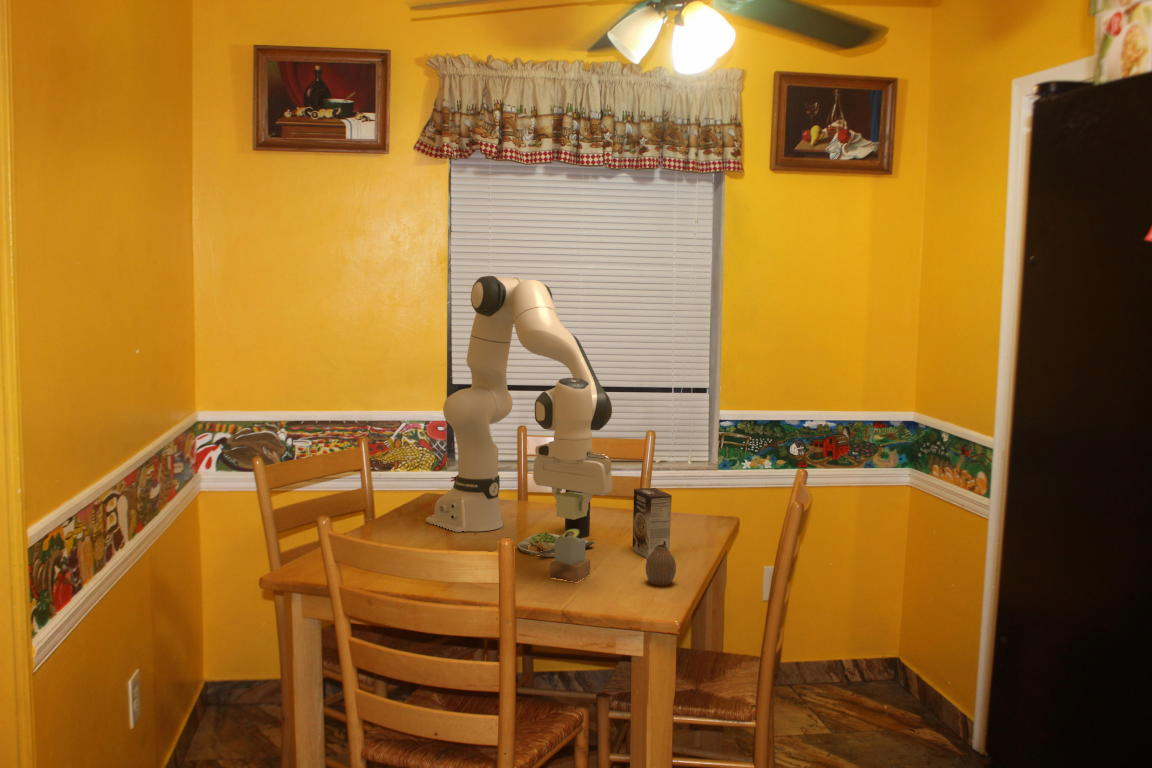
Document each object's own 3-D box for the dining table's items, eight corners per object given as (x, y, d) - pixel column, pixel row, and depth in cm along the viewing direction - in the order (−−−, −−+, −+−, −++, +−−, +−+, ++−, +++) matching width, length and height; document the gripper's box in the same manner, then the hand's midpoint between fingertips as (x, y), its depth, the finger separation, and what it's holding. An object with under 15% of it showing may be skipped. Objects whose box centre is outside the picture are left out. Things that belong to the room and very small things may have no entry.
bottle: (591, 532, 256) (592, 460, 254) (587, 538, 249) (589, 465, 247) (566, 530, 257) (568, 459, 255) (562, 537, 250) (564, 463, 248)
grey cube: (568, 556, 219) (569, 535, 219) (585, 560, 216) (585, 539, 216) (554, 561, 215) (554, 540, 215) (570, 565, 212) (571, 544, 212)
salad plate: (569, 566, 226) (570, 547, 225) (504, 556, 233) (504, 538, 232) (599, 546, 244) (599, 529, 243) (537, 538, 250) (537, 521, 250)
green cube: (569, 512, 218) (569, 491, 218) (586, 515, 215) (587, 494, 215) (556, 516, 214) (556, 494, 214) (574, 519, 211) (574, 497, 211)
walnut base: (549, 580, 214) (550, 563, 214) (562, 571, 221) (563, 555, 220) (577, 584, 211) (577, 567, 211) (589, 576, 218) (590, 559, 217)
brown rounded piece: (642, 578, 216) (644, 541, 215) (672, 578, 216) (673, 541, 216) (647, 588, 209) (648, 550, 208) (678, 588, 210) (679, 549, 209)
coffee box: (631, 550, 239) (632, 488, 237) (653, 548, 242) (655, 486, 240) (647, 560, 231) (649, 496, 229) (670, 557, 233) (672, 494, 232)
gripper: (618, 452, 210) (617, 513, 211) (546, 443, 222) (545, 500, 223) (602, 456, 205) (601, 518, 206) (529, 446, 217) (529, 505, 218)
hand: (571, 509), depth 215 cm, fingers closed on green cube, 5 cm apart
